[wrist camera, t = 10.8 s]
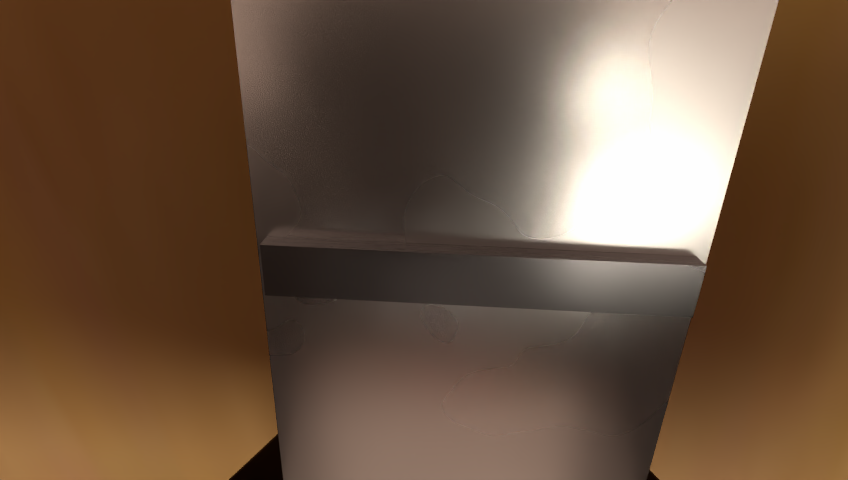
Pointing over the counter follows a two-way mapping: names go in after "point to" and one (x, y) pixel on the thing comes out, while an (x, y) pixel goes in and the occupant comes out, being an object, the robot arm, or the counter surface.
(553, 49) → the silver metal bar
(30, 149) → the counter surface
